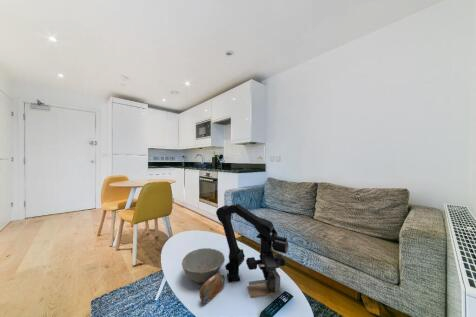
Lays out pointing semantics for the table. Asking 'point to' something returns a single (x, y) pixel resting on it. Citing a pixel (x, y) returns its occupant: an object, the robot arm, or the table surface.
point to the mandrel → (263, 287)
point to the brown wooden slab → (212, 287)
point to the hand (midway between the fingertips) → (265, 278)
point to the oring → (271, 282)
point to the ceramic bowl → (202, 264)
